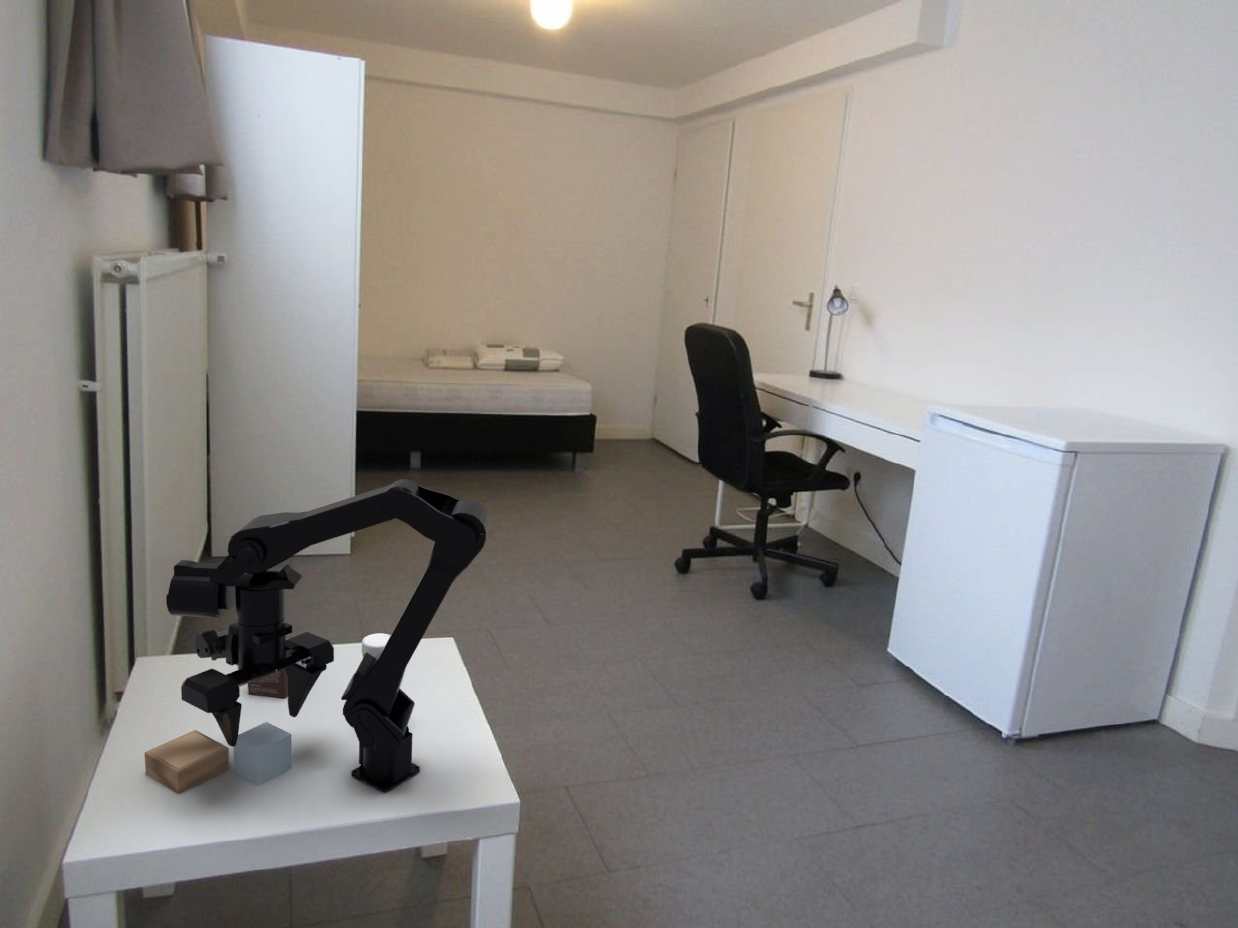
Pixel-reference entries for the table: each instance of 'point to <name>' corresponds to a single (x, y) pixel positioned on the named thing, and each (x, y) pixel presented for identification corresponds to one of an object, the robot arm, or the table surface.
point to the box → (271, 684)
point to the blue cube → (262, 753)
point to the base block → (186, 761)
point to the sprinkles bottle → (374, 643)
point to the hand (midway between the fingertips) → (263, 730)
